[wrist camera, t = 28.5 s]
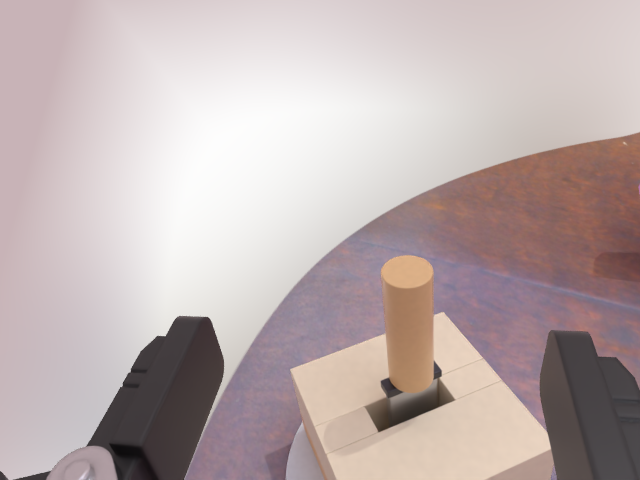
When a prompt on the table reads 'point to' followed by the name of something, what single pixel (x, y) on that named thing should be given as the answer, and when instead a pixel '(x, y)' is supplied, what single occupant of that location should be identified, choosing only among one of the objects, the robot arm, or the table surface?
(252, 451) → the table surface
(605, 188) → the table surface
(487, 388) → the wooden slotted box
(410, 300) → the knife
